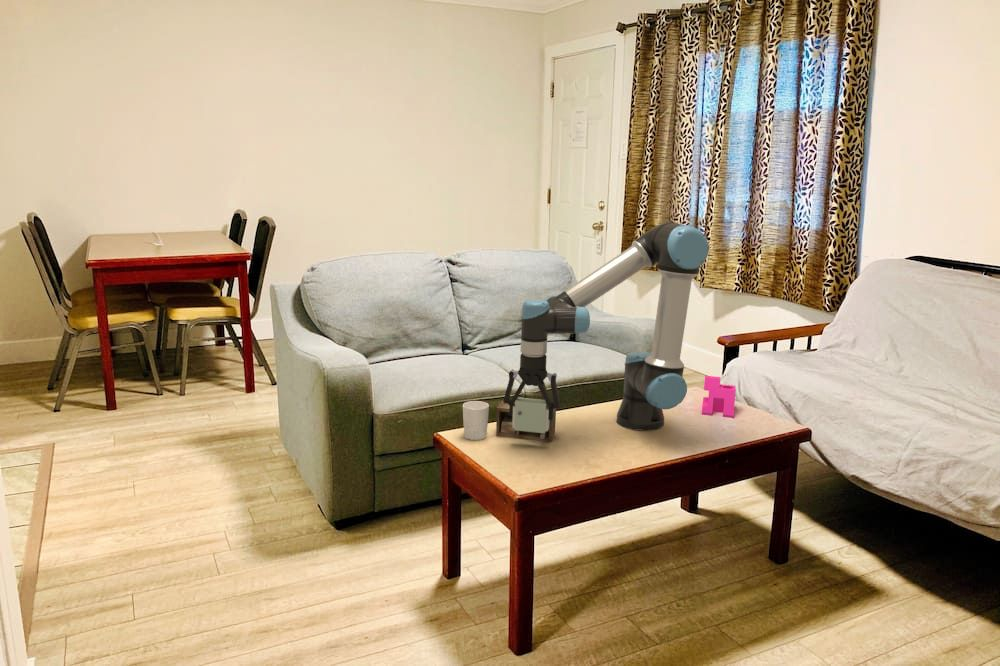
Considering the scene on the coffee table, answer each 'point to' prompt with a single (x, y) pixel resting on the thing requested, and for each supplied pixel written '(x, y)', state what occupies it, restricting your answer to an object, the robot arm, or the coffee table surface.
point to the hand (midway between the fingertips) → (530, 427)
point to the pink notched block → (718, 397)
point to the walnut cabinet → (506, 430)
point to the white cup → (475, 419)
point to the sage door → (530, 415)
